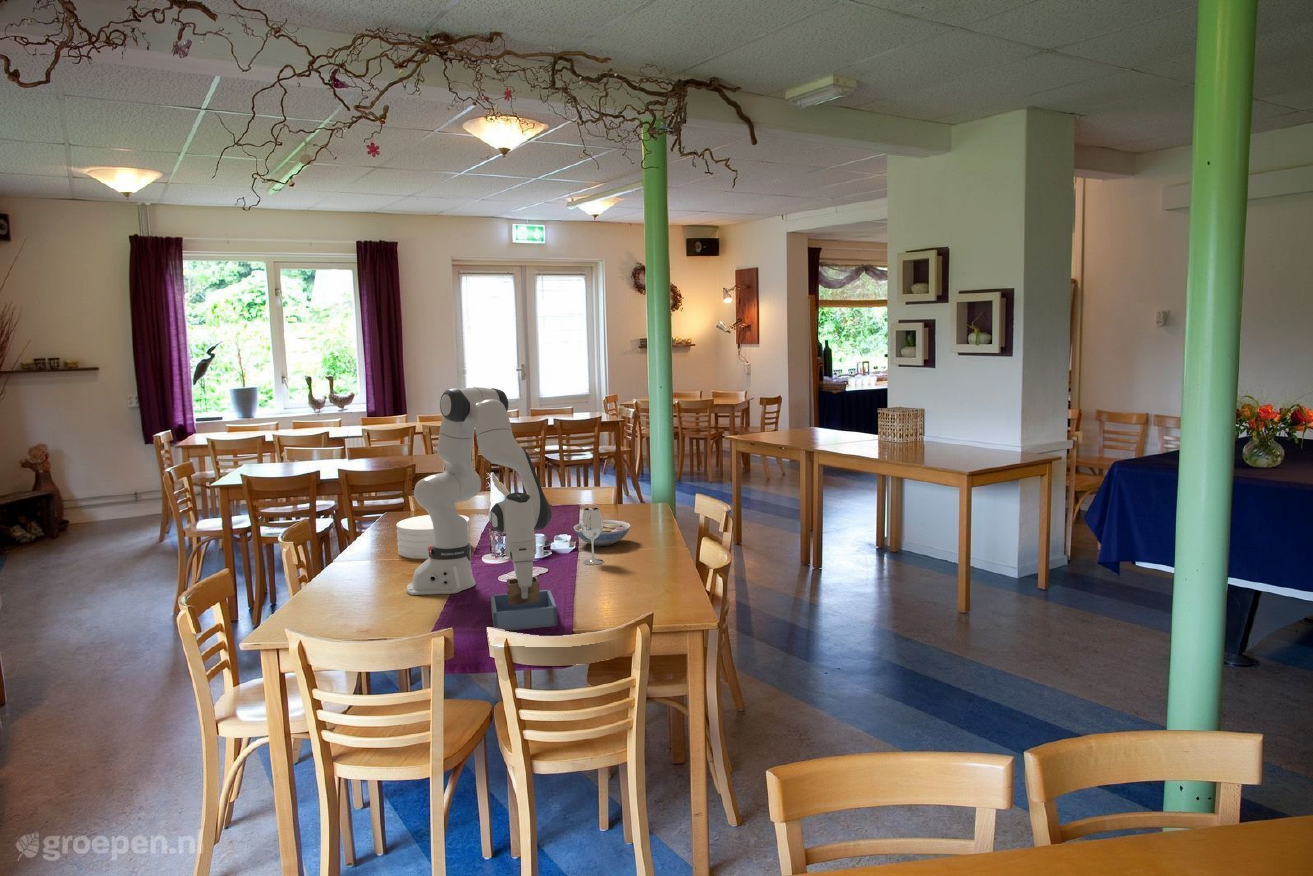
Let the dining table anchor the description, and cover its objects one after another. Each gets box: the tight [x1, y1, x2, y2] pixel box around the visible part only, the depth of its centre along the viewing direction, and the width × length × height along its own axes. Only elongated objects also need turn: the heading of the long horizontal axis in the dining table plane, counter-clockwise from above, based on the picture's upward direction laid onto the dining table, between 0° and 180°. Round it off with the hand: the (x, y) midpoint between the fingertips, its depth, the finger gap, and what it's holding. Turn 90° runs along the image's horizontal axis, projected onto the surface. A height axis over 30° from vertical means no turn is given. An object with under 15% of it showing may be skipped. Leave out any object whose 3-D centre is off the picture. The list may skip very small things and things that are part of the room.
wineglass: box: [581, 506, 604, 566], centre depth 318 cm, size 8×8×20 cm
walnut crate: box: [506, 576, 541, 605], centre depth 257 cm, size 9×6×6 cm, turn 103°
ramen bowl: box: [573, 519, 632, 547], centre depth 346 cm, size 25×23×8 cm
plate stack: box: [396, 514, 472, 559], centre depth 345 cm, size 28×28×12 cm
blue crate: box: [490, 589, 559, 631], centre depth 258 cm, size 18×18×6 cm
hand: (523, 594), depth 257 cm, fingers closed on walnut crate, 6 cm apart
